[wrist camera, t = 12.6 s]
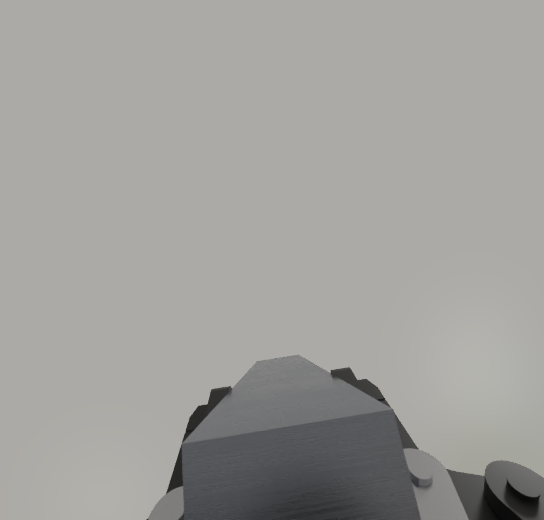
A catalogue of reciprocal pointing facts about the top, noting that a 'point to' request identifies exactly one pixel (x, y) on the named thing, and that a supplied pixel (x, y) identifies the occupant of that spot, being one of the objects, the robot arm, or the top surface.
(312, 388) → the block
